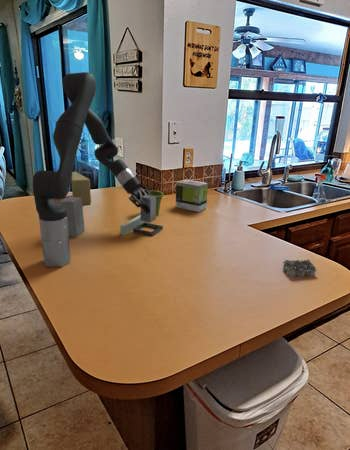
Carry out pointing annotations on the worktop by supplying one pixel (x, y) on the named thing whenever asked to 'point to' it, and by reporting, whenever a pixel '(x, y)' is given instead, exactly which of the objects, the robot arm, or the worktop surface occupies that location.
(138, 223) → the door edge
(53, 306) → the worktop surface
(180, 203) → the tea box
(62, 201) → the skincare box
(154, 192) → the plant pot
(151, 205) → the block
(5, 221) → the worktop surface
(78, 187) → the cheese
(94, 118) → the robot arm
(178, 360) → the worktop surface
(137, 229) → the frame
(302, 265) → the egg carton
